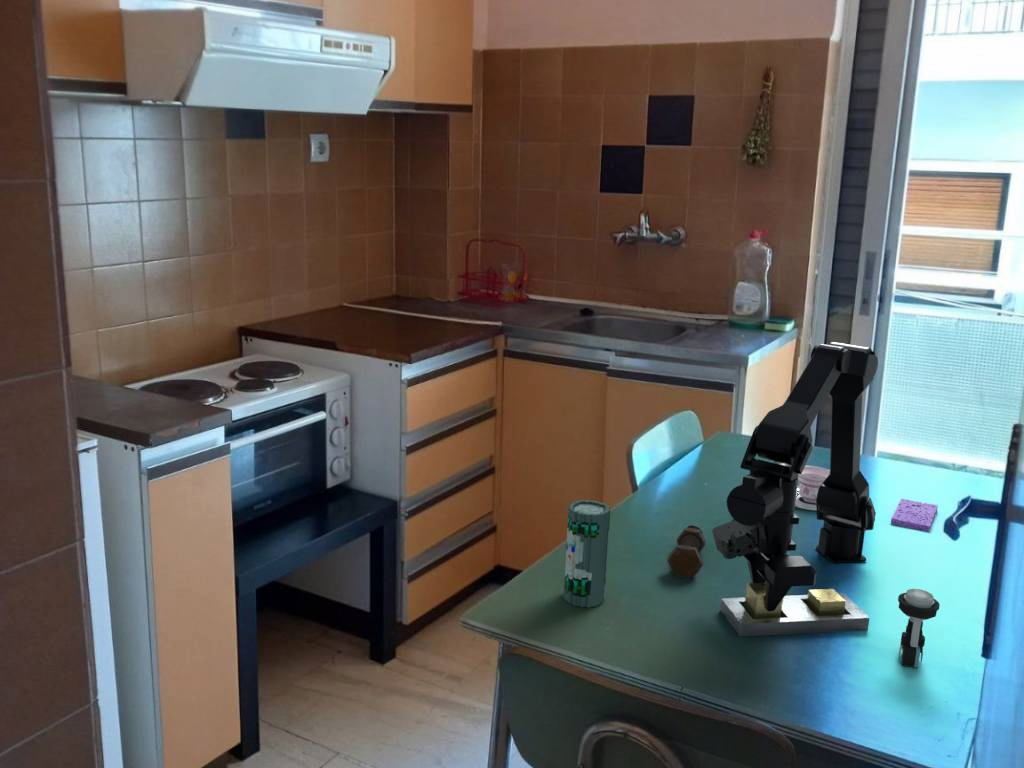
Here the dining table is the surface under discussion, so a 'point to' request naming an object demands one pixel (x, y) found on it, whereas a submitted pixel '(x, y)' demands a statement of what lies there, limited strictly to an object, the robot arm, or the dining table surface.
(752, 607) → the beige wood block
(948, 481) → the dining table surface
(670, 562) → the bolt
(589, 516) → the can
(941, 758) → the dining table surface
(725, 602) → the rectangular frame
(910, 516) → the sponges
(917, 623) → the push button
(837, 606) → the tan wooden cube
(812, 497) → the teacup
